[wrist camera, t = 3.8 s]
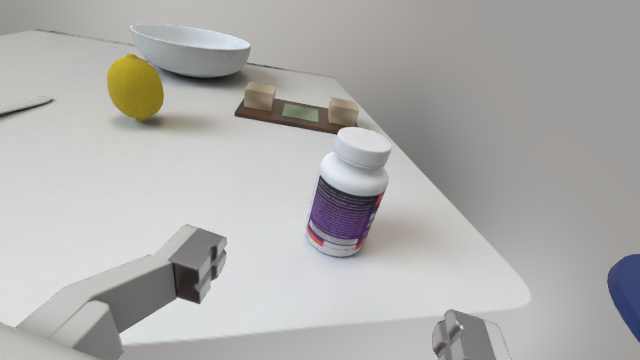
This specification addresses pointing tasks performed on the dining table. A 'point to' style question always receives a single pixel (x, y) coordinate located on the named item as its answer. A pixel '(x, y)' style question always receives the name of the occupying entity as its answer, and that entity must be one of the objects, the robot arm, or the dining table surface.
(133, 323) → the robot arm
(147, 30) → the serving bowl
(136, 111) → the lemon
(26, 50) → the dining table surface
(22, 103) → the fork
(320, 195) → the pill bottle
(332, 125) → the word board
